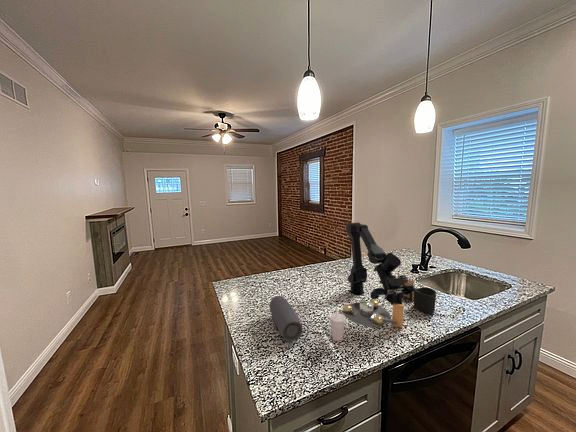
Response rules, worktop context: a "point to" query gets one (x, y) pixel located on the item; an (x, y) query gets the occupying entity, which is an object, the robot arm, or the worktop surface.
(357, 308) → the tribrach plate
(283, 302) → the bluetooth speaker
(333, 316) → the smoothie
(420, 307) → the pen holder
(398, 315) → the lever
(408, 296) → the ammunition clip
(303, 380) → the worktop surface
